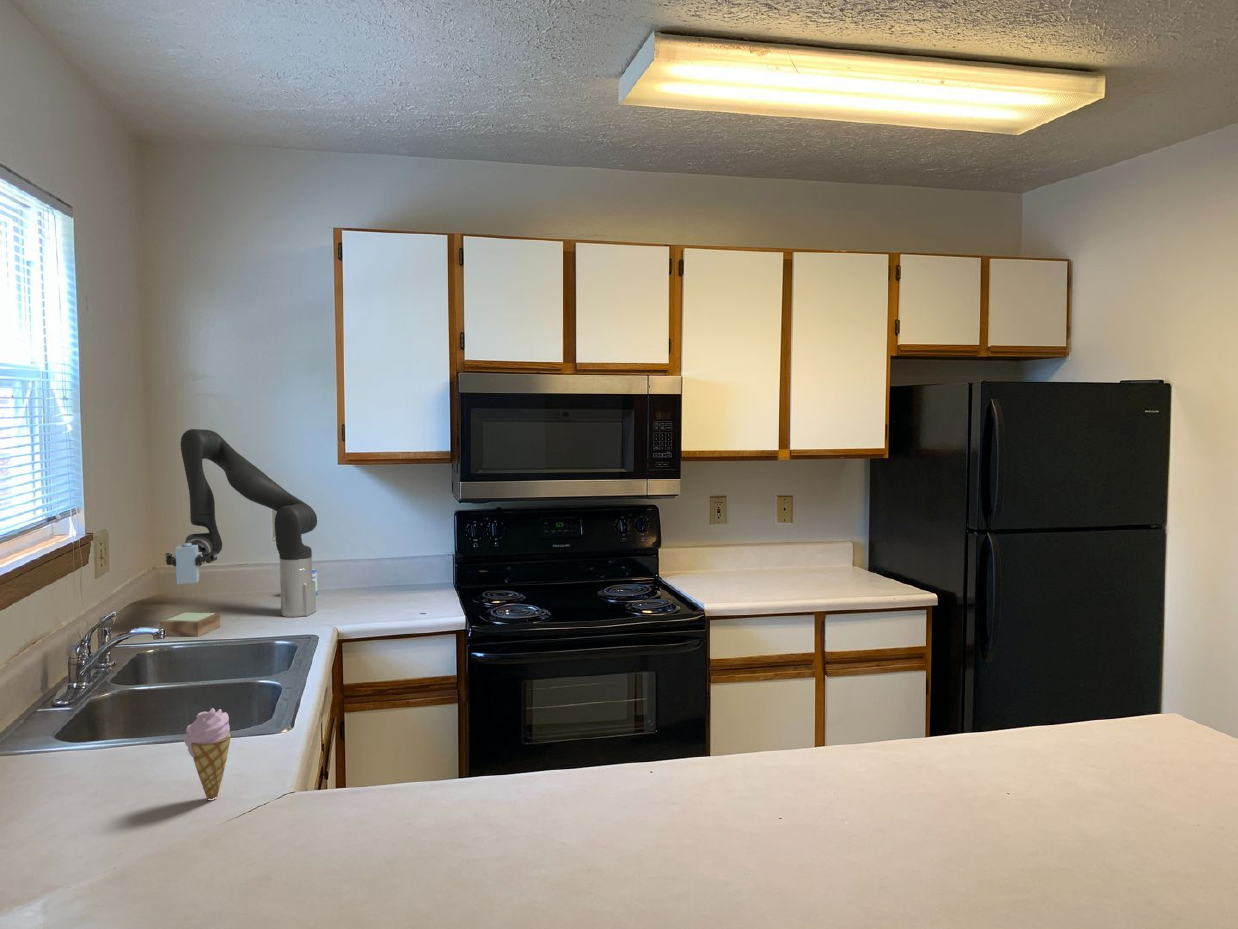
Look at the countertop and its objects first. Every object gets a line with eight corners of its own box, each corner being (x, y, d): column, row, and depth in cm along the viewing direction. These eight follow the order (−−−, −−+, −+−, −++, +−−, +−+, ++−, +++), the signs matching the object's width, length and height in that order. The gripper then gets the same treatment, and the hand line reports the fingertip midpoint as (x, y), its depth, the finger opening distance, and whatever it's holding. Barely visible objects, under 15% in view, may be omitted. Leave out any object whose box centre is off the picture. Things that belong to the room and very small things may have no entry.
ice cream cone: (196, 812, 136) (193, 717, 136) (179, 800, 141) (176, 708, 140) (239, 798, 141) (236, 706, 140) (221, 787, 146) (218, 697, 145)
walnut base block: (220, 626, 253) (219, 612, 253) (197, 636, 242) (197, 621, 242) (184, 626, 254) (183, 611, 254) (160, 635, 243) (159, 620, 243)
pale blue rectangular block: (199, 579, 251) (197, 541, 250) (196, 583, 246) (195, 544, 246) (179, 580, 250) (178, 542, 249) (176, 584, 245) (175, 545, 244)
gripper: (168, 541, 259) (156, 550, 243) (221, 538, 263) (213, 547, 247) (169, 566, 259) (157, 577, 243) (222, 563, 264) (214, 574, 247)
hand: (185, 562), depth 245 cm, fingers closed on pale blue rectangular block, 5 cm apart
